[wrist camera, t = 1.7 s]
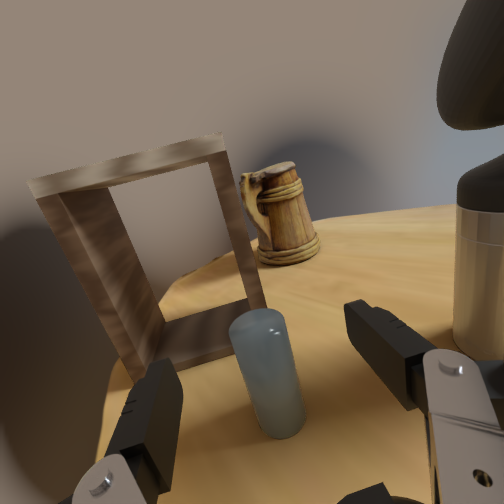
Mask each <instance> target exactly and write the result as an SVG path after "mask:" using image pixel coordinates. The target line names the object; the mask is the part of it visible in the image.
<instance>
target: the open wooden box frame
mask: <svg viewBox="0 0 504 504" xmlns="http://www.w3.org/2000/svg"><path fill="white" fill-rule="evenodd" d="M205 162H208V163H209V167H210V170H211V173H212V177H213V180H214V184H215V187H216V191H217V194H218V198H219V201H220V205H221V208H222V211H223V215H224V218H225V222H226V225H227V229H228V232H229V236H230V239H231V243H232V246H233V249H234V253H235V257H236V260H237V264H238V267H239V271H240V274H241V278H242V281H243V284H244V288H245V291H246V295H247V298H246V299H242V300H239V301H236V302H232V303H229V304H226V305H222V306H219V307H216V308H212V309H209V310H206V311H202V312H199V313H196V314H192V315H189V316H186V317H182V318H179V319H176V320H172V321H169V322H165V319H164V317H163V315H162V312H161V310H160V308H159V305H158V303H157V301H156V298H155V296H154V294H153V291H152V289H151V287H150V284H149V282H148V280H147V278H146V275H145V273H144V271H143V268H142V266H141V264H140V262H139V259H138V257H137V254H136V252H135V250H134V247H133V245H132V243H131V240H130V238H129V236H128V234H127V231H126V229H125V226H124V224H123V222H122V220H121V217H120V215H119V213H118V210H117V208H116V206H115V203H114V201H113V199H112V197H111V194H110V192H109V189H108V187H112V186H116V185H119V184H123V183H127V182H131V181H135V180H139V179H143V178H147V177H150V176H154V175H158V174H162V173H166V172H170V171H174V170H177V169H181V168H185V167H189V166H193V165H197V164H201V163H205ZM26 182H27V184H28V186H29V188H30V190H31V192H32V193H33V195H34V197H35V199H36V201H37V202H38V205H39V206H40V208H41V210H42V212H43V214H44V216H45V218H46V220H47V221H48V223H49V225H50V227H51V229H52V231H53V233H54V234H55V236H56V238H57V240H58V242H59V244H60V246H61V248H62V249H63V251H64V253H65V255H66V257H67V259H68V261H69V263H70V264H71V266H72V268H73V270H74V272H75V274H76V276H77V278H78V279H79V281H80V283H81V285H82V287H83V289H84V291H85V292H86V294H87V296H88V298H89V300H90V302H91V304H92V306H93V307H94V309H95V311H96V313H97V315H98V317H99V318H100V321H101V322H102V324H103V326H104V328H105V330H106V332H107V334H108V335H109V337H110V339H111V341H112V343H113V345H114V347H115V349H116V350H117V352H118V354H119V356H120V358H121V360H122V362H123V364H124V365H125V367H126V369H127V371H128V373H129V375H130V377H131V379H132V380H133V382H134V384H136V382H137V381H138V380H139V379H141V378H144V377H145V374H146V371H147V368H148V365H149V364H150V363H151V362H154V361H157V360H161V359H164V358H167V357H168V358H170V360H171V362H172V364H173V366H174V368H175V371H176V372H178V371H181V370H184V369H187V368H190V367H194V366H197V365H200V364H203V363H206V362H209V361H213V360H216V359H219V358H222V357H225V356H228V355H232V354H235V352H234V349H233V346H232V343H231V340H230V337H229V328H230V326H231V324H232V323H233V322H234V320H235V319H237V318H238V317H239V316H241V315H242V314H244V313H246V312H249V311H251V310H255V309H261V308H267V305H266V301H265V297H264V293H263V290H262V286H261V282H260V278H259V274H258V270H257V267H256V263H255V259H254V255H253V251H252V247H251V244H250V240H249V237H248V232H247V228H246V225H245V221H244V217H243V213H242V210H241V205H240V202H239V198H238V194H237V190H236V186H235V183H234V179H233V175H232V171H231V167H230V163H229V159H228V156H227V152H226V148H225V144H224V141H223V137H222V133H221V132H218V133H214V134H210V135H207V136H202V137H198V138H195V139H190V140H186V141H182V142H178V143H175V144H170V145H167V146H163V147H158V148H155V149H151V150H146V151H143V152H139V153H135V154H131V155H127V156H123V157H119V158H115V159H111V160H107V161H103V162H99V163H95V164H91V165H87V166H83V167H79V168H75V169H71V170H67V171H63V172H59V173H55V174H51V175H47V176H43V177H39V178H35V179H31V180H27V181H26Z"/></svg>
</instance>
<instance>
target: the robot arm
mask: <svg viewBox="0 0 504 504" xmlns="http://www.w3.org/2000/svg"><path fill="white" fill-rule="evenodd" d="M437 107H438V110H439V113H440V116H441V118H442V119H443V121H444V122H445V123H446V124H447V125H448V126H450V127H452V128H454V129H458V130H480V129H487V128H492V127H496V126H500V125H504V0H467V1H466V3H465V5H464V7H463V9H462V11H461V14H460V16H459V18H458V20H457V23H456V25H455V27H454V29H453V32H452V34H451V37H450V39H449V42H448V45H447V48H446V50H445V53H444V57H443V61H442V64H441V68H440V72H439V77H438V84H437ZM344 313H345V320H346V327H347V333H348V337H349V339H350V341H351V343H352V345H353V346H354V347H355V349H356V350H357V351H358V352H359V354H360V355H361V356H362V357H363V358H364V360H365V361H366V362H367V363H368V364H369V366H370V367H371V368H372V369H373V370H374V372H375V373H376V374H377V375H378V376H379V378H380V379H381V380H382V381H383V382H384V384H385V385H386V386H387V387H388V389H389V390H390V391H391V392H392V393H393V395H394V396H395V397H396V398H397V399H398V401H399V402H400V403H401V404H402V405H403V407H404V408H405V409H406V410H407V411H410V410H412V409H415V408H419V409H420V410H421V411H422V412H423V414H424V422H425V432H426V442H427V452H428V462H429V472H430V484H431V500H432V504H504V154H502V155H501V156H498V157H497V158H495V159H493V160H491V161H489V162H487V163H484V164H482V165H480V166H478V167H476V168H474V169H472V170H470V171H468V172H466V173H465V174H464V175H463V176H462V177H461V178H460V180H459V182H458V185H457V205H456V242H455V274H454V306H453V339H454V342H455V343H456V345H457V346H458V347H459V348H460V349H461V350H462V351H463V352H464V353H465V354H466V355H468V356H469V357H471V358H472V359H474V360H476V361H473V360H471V359H470V358H469V357H467V356H465V355H463V354H461V353H459V352H456V351H453V350H448V349H438V348H437V347H435V346H434V345H433V344H431V343H430V342H429V341H427V340H426V339H425V338H423V337H422V336H421V335H420V334H418V333H417V332H416V331H414V330H413V329H412V328H410V327H409V326H407V325H406V324H405V323H404V322H402V321H401V320H399V319H398V318H397V317H396V316H395V315H393V314H392V313H391V312H389V311H387V310H384V309H382V308H379V307H374V308H372V307H371V306H369V305H368V304H367V303H366V302H365V301H363V300H362V299H360V300H356V301H353V302H350V303H346V304H344ZM182 404H183V389H182V385H181V382H180V380H179V378H178V375H177V373H176V371H175V368H174V366H173V364H172V362H171V360H170V358H168V357H167V358H164V359H161V360H157V361H154V362H151V363H150V364H149V365H148V368H147V371H146V374H145V377H144V378H141V379H139V380H138V381H137V382H136V384H135V385H134V386H133V388H132V389H131V390H130V392H129V395H128V397H127V400H126V402H125V406H124V408H123V410H122V413H121V416H120V418H119V420H118V423H117V425H116V428H115V430H114V433H113V435H112V438H111V440H110V443H109V446H108V448H107V451H106V453H105V456H104V458H103V459H101V460H99V461H98V462H97V463H96V464H94V465H93V466H92V467H91V468H90V469H89V470H88V471H87V472H86V474H85V475H84V476H83V477H82V479H81V480H80V482H79V484H78V485H77V487H76V489H75V492H74V494H72V495H71V496H69V497H68V498H66V499H65V500H63V501H61V502H60V503H58V504H157V499H158V495H160V494H163V493H166V492H169V491H171V484H172V476H173V469H174V462H175V455H176V448H177V440H178V433H179V426H180V419H181V412H182ZM337 504H424V503H421V502H419V501H416V500H412V499H409V498H404V497H398V496H390V494H389V493H388V491H387V489H386V487H385V485H384V484H383V482H382V483H379V484H376V485H373V486H371V487H368V488H365V489H362V490H360V491H357V492H354V493H351V494H349V495H346V496H345V497H344V498H343V499H342V500H341V501H339V502H338V503H337Z"/></svg>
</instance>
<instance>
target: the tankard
mask: <svg viewBox="0 0 504 504" xmlns="http://www.w3.org/2000/svg"><path fill="white" fill-rule="evenodd" d="M295 167H296V165H295V164H294V163H293V162H283V163H279V164H276V165H273V166H270V167H267V168H265V169H262V170H260V171H258V172H256V173H252V172H251V173H243V174H241V181H240V182H239V184H240V190H241V197H242V201H243V204H244V208H245V211H246V213H247V215H248V217H249V219H250V220H251V222H252V223H253V225H254V226H255V227H256V228H257V233H258V242H259V246H258V247H257V250H258V254H259V255H258V257H259V260H260V261H261V262H264V263H266V264H269V265H278V266H281V265H290V264H295V263H298V262H302V261H304V260H307V259H309V258H310V257H312V256H313V255H315V254H316V253H317V252H318V251H319V249H320V239H319V236H318V234H317V233H316V232H315V231H314V228H313V225H312V221H311V218H310V215H309V212H308V209H307V206H306V203H305V200H304V197H303V193H302V191H303V186H302V183H301V179H300V178H298V176H297V174H296V171H295Z"/></svg>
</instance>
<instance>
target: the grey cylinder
mask: <svg viewBox="0 0 504 504" xmlns="http://www.w3.org/2000/svg"><path fill="white" fill-rule="evenodd" d="M229 337H230V340H231V343H232V346H233V349H234V352H235V355H236V358H237V361H238V364H239V367H240V370H241V373H242V375H243V378H244V381H245V384H246V387H247V390H248V393H249V396H250V399H251V402H252V405H253V408H254V411H255V414H256V417H257V420H258V423H259V426H260V428H261V429H262V431H263V432H264V433H265V434H266V435H268V436H270V437H272V438H275V439H285V438H289V437H291V436H293V435H295V434H296V433H297V432H299V431H300V429H301V428H302V427H303V425H304V423H305V419H306V408H305V403H304V399H303V395H302V391H301V387H300V382H299V378H298V374H297V370H296V366H295V361H294V357H293V353H292V349H291V345H290V341H289V336H288V332H287V328H286V324H285V320H284V317H283V315H282V314H281V313H280V312H278V311H276V310H274V309H269V308H261V309H255V310H251V311H249V312H246V313H244V314H242V315H241V316H239V317H238V318H237V319H235V320H234V322H233V323H232V324H231V326H230V328H229Z"/></svg>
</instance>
